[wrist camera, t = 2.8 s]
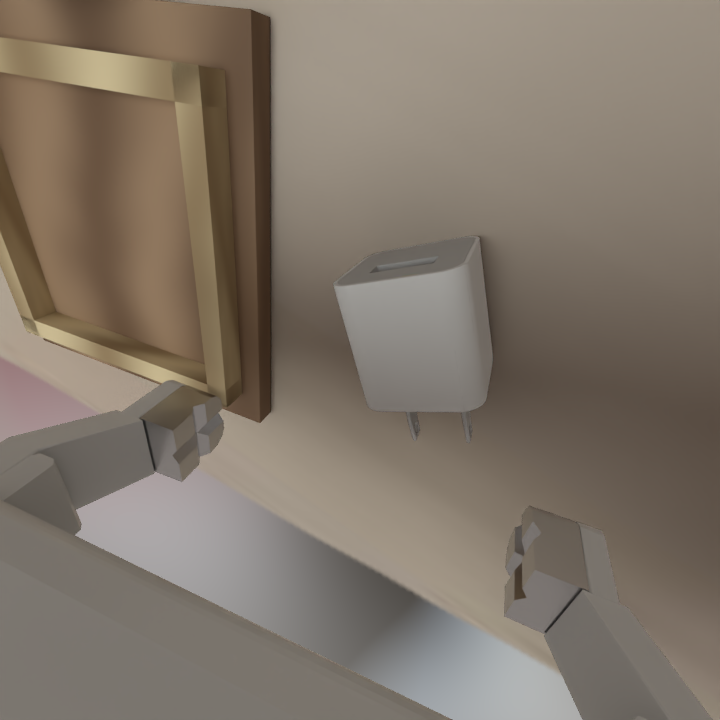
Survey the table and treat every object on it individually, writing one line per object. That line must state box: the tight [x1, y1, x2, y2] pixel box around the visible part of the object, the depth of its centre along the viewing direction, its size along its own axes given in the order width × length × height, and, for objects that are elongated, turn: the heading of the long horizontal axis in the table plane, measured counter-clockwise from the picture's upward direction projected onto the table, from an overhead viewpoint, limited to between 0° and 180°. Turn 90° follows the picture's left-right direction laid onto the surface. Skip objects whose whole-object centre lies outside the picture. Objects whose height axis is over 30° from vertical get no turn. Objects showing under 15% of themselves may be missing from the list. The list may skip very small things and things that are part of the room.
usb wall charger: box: [333, 236, 493, 443], centre depth 14 cm, size 4×7×4 cm, turn 15°
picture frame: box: [0, 0, 271, 423], centre depth 17 cm, size 15×16×2 cm
